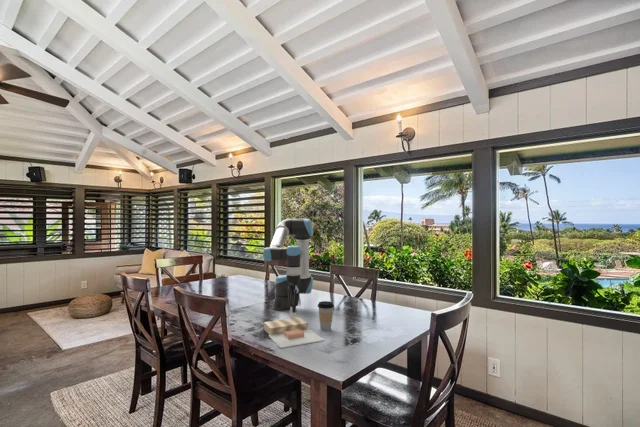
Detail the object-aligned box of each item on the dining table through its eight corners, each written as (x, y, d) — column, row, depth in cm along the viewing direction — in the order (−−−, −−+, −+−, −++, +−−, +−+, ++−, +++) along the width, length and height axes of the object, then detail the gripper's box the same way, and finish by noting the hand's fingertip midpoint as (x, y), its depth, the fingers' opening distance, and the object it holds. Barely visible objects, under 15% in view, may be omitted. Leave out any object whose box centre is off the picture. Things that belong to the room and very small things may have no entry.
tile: (304, 332, 172) (304, 336, 172) (299, 329, 177) (299, 333, 177) (288, 335, 168) (288, 339, 168) (284, 331, 174) (284, 335, 173)
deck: (299, 324, 195) (299, 317, 195) (307, 330, 184) (307, 322, 184) (263, 329, 185) (263, 322, 185) (270, 335, 174) (270, 328, 174)
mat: (309, 329, 184) (309, 328, 184) (324, 340, 168) (324, 339, 168) (268, 336, 174) (268, 335, 174) (280, 348, 157) (280, 347, 157)
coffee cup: (336, 328, 188) (336, 302, 188) (328, 333, 179) (328, 305, 180) (322, 325, 192) (322, 300, 193) (314, 330, 184) (314, 303, 185)
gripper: (282, 273, 180) (282, 315, 179) (291, 277, 168) (291, 322, 168) (295, 272, 183) (294, 313, 183) (304, 275, 171) (304, 320, 171)
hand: (293, 318), depth 175 cm, fingers closed
